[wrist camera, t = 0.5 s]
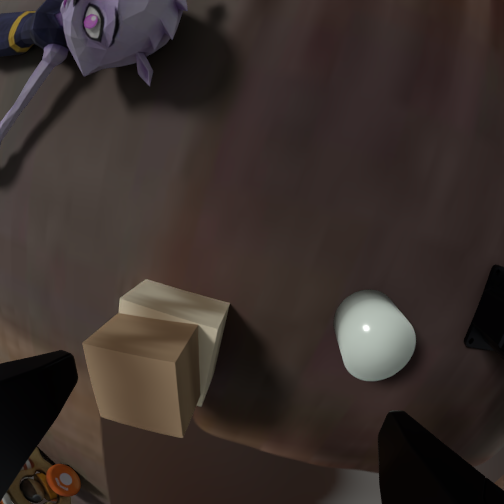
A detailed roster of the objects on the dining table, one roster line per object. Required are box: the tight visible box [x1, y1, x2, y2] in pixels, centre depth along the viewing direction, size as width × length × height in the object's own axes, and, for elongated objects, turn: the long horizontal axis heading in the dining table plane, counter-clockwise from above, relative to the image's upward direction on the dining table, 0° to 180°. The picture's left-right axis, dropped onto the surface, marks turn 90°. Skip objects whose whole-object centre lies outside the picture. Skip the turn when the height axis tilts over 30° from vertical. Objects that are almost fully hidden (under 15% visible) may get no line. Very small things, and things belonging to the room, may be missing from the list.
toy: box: [0, 0, 188, 145], centre depth 14 cm, size 26×9×30 cm
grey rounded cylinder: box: [333, 290, 416, 381], centre depth 18 cm, size 4×4×4 cm
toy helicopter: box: [0, 447, 81, 504], centre depth 22 cm, size 8×21×14 cm, turn 44°
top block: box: [82, 313, 201, 438], centre depth 16 cm, size 5×5×4 cm
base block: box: [119, 279, 230, 407], centre depth 19 cm, size 6×6×4 cm
